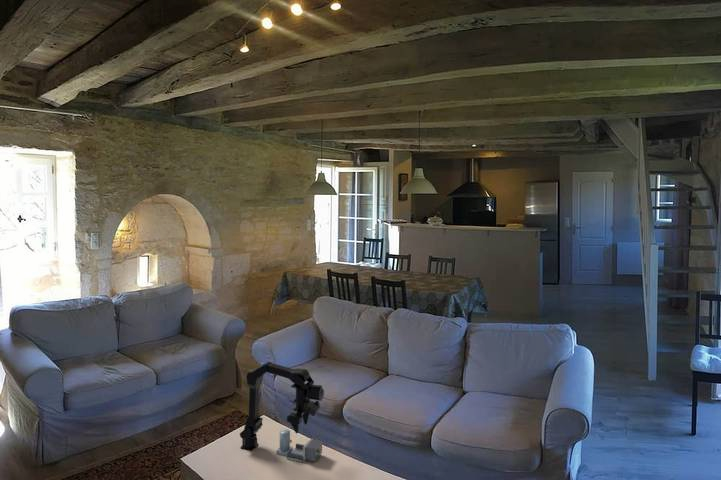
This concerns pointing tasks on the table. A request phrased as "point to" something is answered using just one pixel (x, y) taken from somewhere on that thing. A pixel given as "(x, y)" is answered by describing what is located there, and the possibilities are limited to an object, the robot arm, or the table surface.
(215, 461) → the table surface
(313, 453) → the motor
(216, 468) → the table surface
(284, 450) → the blue-grey knob on base
